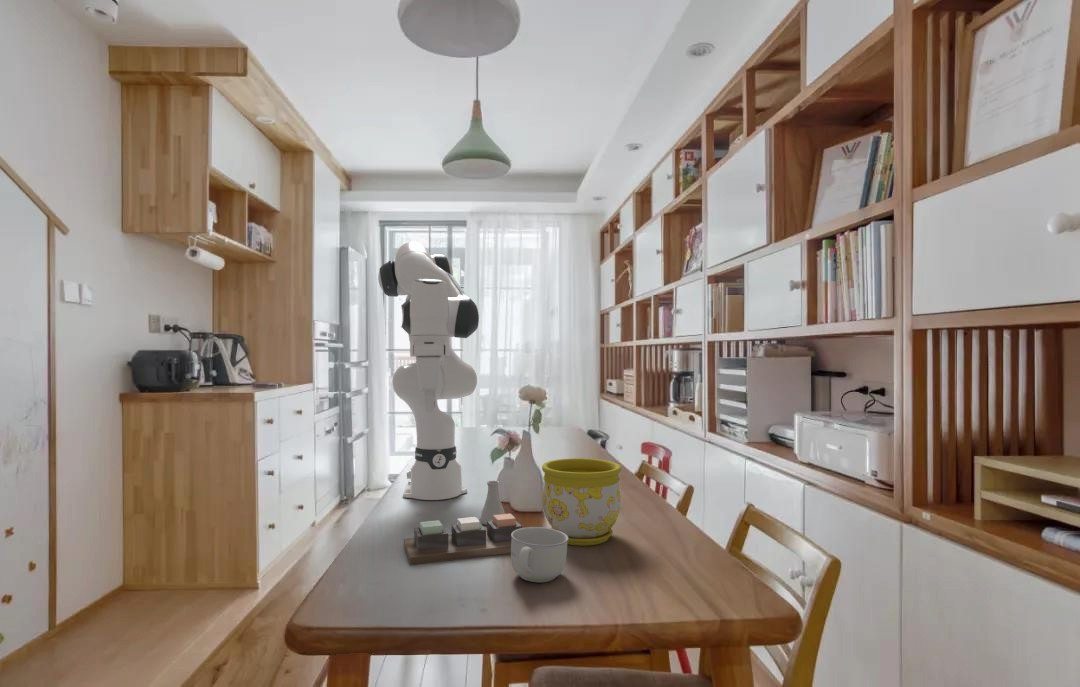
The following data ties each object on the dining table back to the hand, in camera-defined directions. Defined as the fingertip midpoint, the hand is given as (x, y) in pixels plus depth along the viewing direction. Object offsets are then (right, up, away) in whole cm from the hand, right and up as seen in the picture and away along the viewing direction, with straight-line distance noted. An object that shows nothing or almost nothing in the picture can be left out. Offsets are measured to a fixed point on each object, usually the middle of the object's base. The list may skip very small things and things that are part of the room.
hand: (430, 410), depth 132 cm
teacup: (+24, -29, -23) cm, 44 cm away
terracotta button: (+17, -25, -4) cm, 30 cm away
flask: (+13, -30, +13) cm, 35 cm away
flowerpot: (+34, -29, +1) cm, 45 cm away
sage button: (+2, -25, -9) cm, 27 cm away
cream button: (+9, -25, -6) cm, 27 cm away
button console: (+9, -29, -6) cm, 31 cm away
